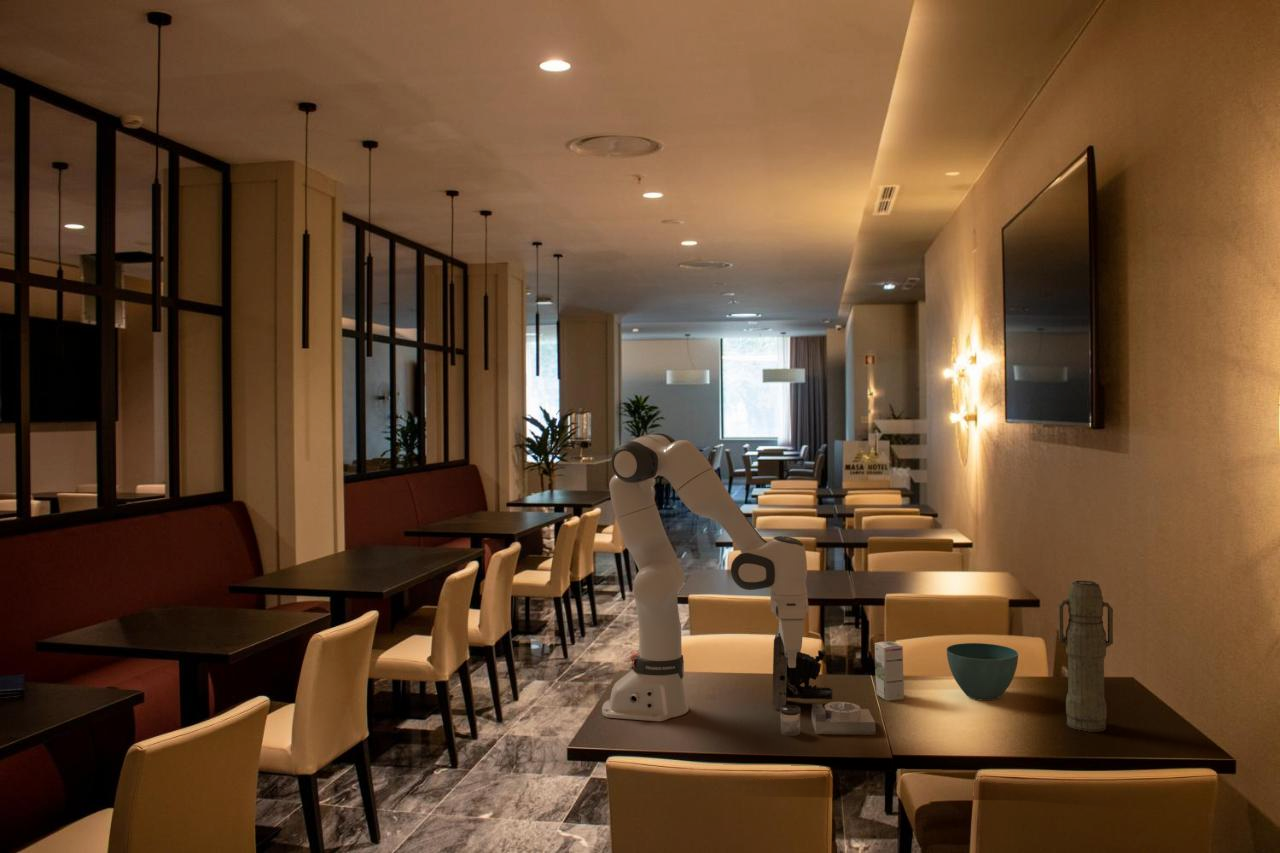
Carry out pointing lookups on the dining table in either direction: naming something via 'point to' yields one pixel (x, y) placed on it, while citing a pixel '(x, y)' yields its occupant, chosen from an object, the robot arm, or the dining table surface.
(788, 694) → the vintage camera
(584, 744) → the dining table surface
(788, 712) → the knob
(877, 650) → the syrup box
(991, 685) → the teal bowl
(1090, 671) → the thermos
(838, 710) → the mount
